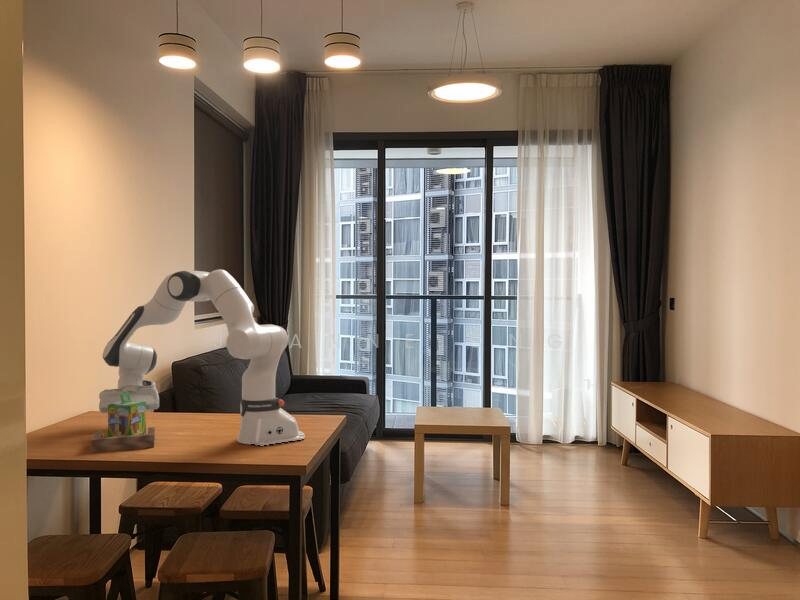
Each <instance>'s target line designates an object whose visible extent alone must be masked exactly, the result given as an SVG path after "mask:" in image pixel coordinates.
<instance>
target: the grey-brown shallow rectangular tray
mask: <svg viewBox="0 0 800 600" xmlns="http://www.w3.org/2000/svg"><path fill="white" fill-rule="evenodd" d="M155 430H156V428H155V427H154V426H152V427H151V426H149V427H148V428H147V433H145V434H142V435H130V436H117V437H108V436H107V437H104V435H103V433H104V432H103V430H99V431H95V433H94V435H93V436H92V438H91V453H92V452H94V453H103V451H106V452H115V451H116V450H117V451H126V450H139V449H148V448H147V447H151V448H155V442H154V441H155V440H156V437H155V436H156V435H155V433H156V431H155Z"/></svg>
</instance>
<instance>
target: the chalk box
mask: <svg viewBox="0 0 800 600" xmlns="http://www.w3.org/2000/svg"><path fill="white" fill-rule="evenodd" d="M125 396H127V397H128V400H124V397H125ZM121 400H122V401H121V402H116V403H112V404H109V405H108V413H107V432H108V433H107V434H108V435H107V437H117V436H130V435H142V434H144V433H145V434H147V410H146V402H143V401H131V399H130V395H129V393H124V394H121Z"/></svg>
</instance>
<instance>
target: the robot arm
mask: <svg viewBox="0 0 800 600" xmlns="http://www.w3.org/2000/svg"><path fill="white" fill-rule="evenodd" d="M210 301H211V303H212V304H213V305H214V308H216V310H217V311H218V313H219V315H220V316H221V318H222V319H223V320H224V323H225V325H226V328H227V331H228V332H227V333H228V336H227V337H226V342H225V343H226V349H227V351H228V353H229V354H230V355H231V356H232V357H233V358H235V359H241V360H250V361H249V364H248V367H247V369H246V370H245V371H244V372H243V374H242V377H241V398H240V405H239V409H240V410H239V411H240V413H239V414H240V415H241V417H240V426H239V432H238V436H237V439H236V441H237V443H239V444H244V445H251V444H255V445H254V446H258V445H260V446H259V447H265V446H264V445H267V446H270V445H269V444H274V445H276V444H275V443H281V442H288V441H295V440H301V439H304V438H306V435H305V433H304V432H303V431H301V430H299V426H298V421H297V420H296V418H295V417H294V416H293V415H292V414H290V413H289V412H287V411H286V410H284V409H283V408H281V407H284V405H285V401H284V400H283V399H281V398H279V397H276V381H277V380H276V377H277V371H278V365H279V362H280V359H281V356H282V354H283V353H284V351H285V349H286V348H287V346H288V343H289V336H288V332H287V331H286V329H284V328H283V327H282V326H279V325H275V324H271V323H270V324H259V323H257V322H256V320H255V317H254V315H253V314H254V311H255V305H254V303H253V302H252V301H251V299H250V298H249V296H248V295H247V293H246V292H245V291H244V289H243V288H242V286H241V285H240V284H239V282H238V281H237V280H236V279H235V278H234V277H233V276H232V275H231V273H229V272H228V271H227V270H225V269H220V268H219V269H215V270H212V271H203V270H201V271H200V270H188V271H187V270H186V271H185V270H181V271H176V272H174V273H170V274H168V275H166V277H165V278H164V279H162V281H161V283H160V284H159V286H158V288H157V289H156V291H155V293H154V295H153V297H152V298H151V299H150V300H149V301H147V303H145V304H144V305H140V306H138V307H135V309H134V310H133V311H132V312H131V314H130V315H129V316H128V317H127V319H126V321H124V323H123V324H122V326H121V327H120V329H118V331H117V332H116V333H115V334H114V336H113V337H112V338H111V339H110V340H109V341H108V342H107V344H105V347H103V348H104V349H103V352H102V359H103V361H104V363H106V364H107V365H108V366H109V367H116V368H117V367H118V381H117V388H112V389H108V388H107V389H106V388H105V389H104V390H101V391H100V392H99V395H98V397H99V403H98V410H99V411H100V412H101V413H102V414H105V413H107V414H108V405H109V404H112V403H116V402H121V401H122V400H121V394H124V393H129V395H130V399H131V401H143V402H146V411H149V410H151V411H152V410H158V409H159V408H160V396H159V392H158V389H157V387H156V382H155V381H153V380H147V379H144V376H145V375H147V374H149V373H150V372H152V371H153V370H154V369H155V367H156V366H157V359H158V358H157V357H158V354H157V352H156V350H155V348H154V347H152V346H148V345H145V344H139V343H133V342H131V341H130V339H131V338H132V336H133V335H134V334H135V332H136V331H137V330H138V329H140V328H143V327H148V326H155V325H156V326H158V325H159V326H161V325H168V324H171V323H174V322H175V321H176V320H177V319H178V318H179V316H180V315H181V313H182V311H183V309H184V307H185V304H186V303H187V302H196V303H200V302H201V303H202V302H210ZM124 400H128V397H127V396H125V397H124ZM304 440H305V439H304ZM301 441H302V440H301ZM295 442H296V441H295ZM288 443H289V442H288ZM281 444H282V443H281Z"/></svg>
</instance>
